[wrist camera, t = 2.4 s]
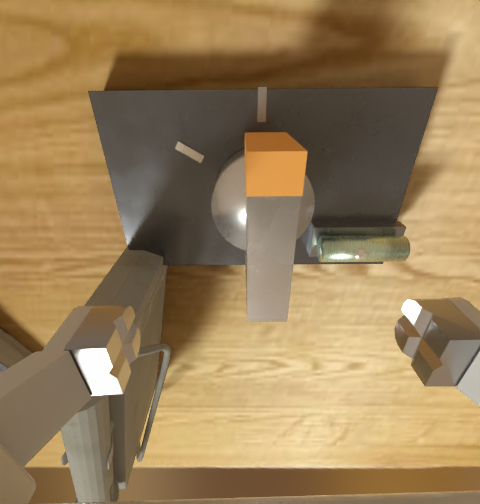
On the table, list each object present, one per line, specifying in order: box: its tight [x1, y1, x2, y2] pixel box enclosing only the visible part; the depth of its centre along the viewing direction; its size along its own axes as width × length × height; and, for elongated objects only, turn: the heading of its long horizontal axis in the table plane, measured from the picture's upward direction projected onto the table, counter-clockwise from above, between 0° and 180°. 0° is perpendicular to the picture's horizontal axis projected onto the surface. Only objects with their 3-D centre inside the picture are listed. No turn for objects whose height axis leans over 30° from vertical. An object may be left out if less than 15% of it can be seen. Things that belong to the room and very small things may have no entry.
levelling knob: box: [211, 132, 315, 322], centre depth 15 cm, size 8×6×8 cm
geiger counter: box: [60, 247, 171, 503], centre depth 23 cm, size 14×6×25 cm
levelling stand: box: [88, 87, 438, 265], centre depth 18 cm, size 20×12×5 cm, turn 91°
